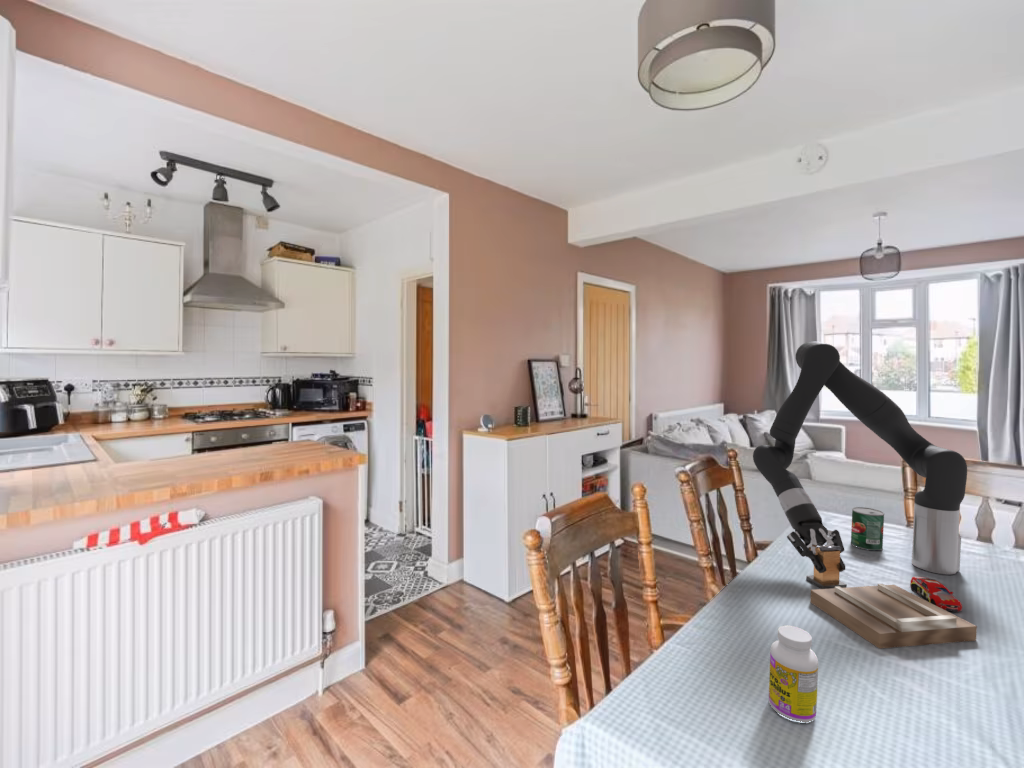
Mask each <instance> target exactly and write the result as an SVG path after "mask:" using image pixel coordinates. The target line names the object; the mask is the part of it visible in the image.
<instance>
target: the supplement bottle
mask: <svg viewBox="0 0 1024 768" xmlns="http://www.w3.org/2000/svg"><path fill="white" fill-rule="evenodd" d="M777 638H778V640H777V639H776V640H775V641H774V642H772V644H770V649H769V650H770V652H769V656H770V657H769V678H768V679H769V681H768V683H769V684H768V703H770V704H769V705H771V706H770V707H771V709H772V708H773V709H774V710H775V711H776V712H777V713H779V714H781V715H783V716H785V717H787V718H789V719H792V720H796V721H800V722H801V721H802V722H809V721H812V720H813V721H815V719H816V717H817V709H818V707H817V705H818V680H819V678H818V677H819V674H818V673H819V660H818V659H819V658H818V657H817V655H816V653H815V651H814V650H812V649H811V648H812V646H813V644H812V643H813V642H812V641H813V638H812V635H811V633H809V632H808V631H806V630H805V629H803V628H800V627H797V626H794V625H787V624H786V625H781V626H779V627H778V629H777ZM773 709H772V710H773ZM774 710H773V711H774ZM775 711H774V712H775ZM776 712H775V713H776ZM777 713H776V714H777ZM813 721H812V722H813Z"/></svg>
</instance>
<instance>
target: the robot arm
mask: <svg viewBox="0 0 1024 768" xmlns="http://www.w3.org/2000/svg"><path fill="white" fill-rule="evenodd" d="M840 360H841V355H840V353H839V350H838V349H837V348H836V347H835V346H833V345H832V344H830V343H827V342H823V341H818V340H817V341H815V340H814V341H808V342H805V343H803V344H801V345H799V347H797V350H796V352H795V363H796V365H797V366H798V368H800V369H801V370H800V373H799V376H798V379H797V382H796V383H795V386H794V387H793V389H792V391H791V392H790V394H789V395H788V397H787V398H786V400H785V401H784V402H783V403H782V404H781V406H780V407H779V410H778V411H777V413H776V416H775V418H774V419H773V422H772V424H771V427H770V429H769V435H770V436H771V437H772V438H773V439H775V441H774V446H772V445H767V444H761V445H758V446H757V447H755V449H754V450H753V453H752V460H753V463H754V465H755V467H756V468H757V470H758V471H759V473H760V474H761V475H762V476H763V477H764V478H765V480H766V481H767V482H768V483H769V484H770V485H771V487H772V489H773V491H774V493H775V495H776V496H777V498H778V501H779V504H780V507H781V509H782V511H783V513H784V514H785V517H786V518H787V520H788V522H789V524H790V526H791V528H792V529H793V530H794V531H791V532H790V533H789V534H788V535H786V538H787V540H788V541H789V542H790V543H791V545H792V547H793V548H795V550H796V551H797V552H798V554H799V555H800V556H801V557H802V558H803V557H805V558H809V559H810V560H811V563H812V565H813V567H814V566H815V568H816V570H817V571H818V572H819V573H824V572H825V571H826V567H825V565H824V563H823V562H822V560H821V558H820V556H817V555H818V552H817V550H816V547H829V546H830V547H832V546H840V547H841V550H839V551H840V554H842V553H843V552H845V547H844V544H843V539H842V537H841V534H840V531H839V530H838V529H834V530H829V529H828V528H827V527H826V526H825V525H824V524H823V518H822V517H821V514H820V513H819V510H818V509H817V508H816V505H815V504H814V502H813V501H812V499H811V497H810V496H809V494H808V493H807V491H805V489H804V487H803V485H802V483H801V482H800V479H799V478H798V476H797V475H796V474H795V473H794V472H792V471H790V470H787V469H788V468H789V467H790V465H792V463H793V458H794V454H795V447H796V441H797V440H796V439H797V437H798V436H799V433H800V431H801V429H802V427H803V425H804V422H805V420H806V418H807V416H808V414H809V412H810V410H811V407H813V404H814V403H815V401H816V400H817V398H818V396H819V394H820V393H821V392H822V391H821V390H822V389H823V388H824V387H825V388H827V389H828V390H829V391H830V392H831V393H832V394H833V395H834V397H836V398H837V400H839V401H838V402H840V403H841V404H842V405H843V406H844V407H845V408H846V409H847V410H848V411H849V412H850V413H851V414H852V415H853V417H855V418H856V419H857V420H858V421H860V422H861V423H862V424H863V425H865V427H867V428H868V429H869V430H870V431H871V432H872V433H874V434H875V435H876V436H877V437H879V439H881V440H883V442H885V443H886V444H888V445H889V446H890V447H891V448H892V449H893V450H894V451H895V452H896V453H897V454H898V455H899V456H900V457H901V459H902V460H904V462H905V463H906V464H907V465H908V466H909V467H910V468H911V469H912V470H913V472H915V473H916V474H917V475H918V476H921V477H923V478H925V482H924V483H925V484H924V488H923V490H920V491H917V492H915V494H914V505H913V525H912V526H913V528H912V529H913V531H912V549H911V564H912V565H913V566H915V567H916V568H918V569H920V570H923V571H925V572H930V573H933V574H939V575H948V576H949V575H955V574H957V572H960V571H961V567H960V566H961V550H962V549H961V548H962V547H961V546H962V537H961V536H960V535H959V534H960V533H959V531H960V510H961V504H962V502H963V501H964V498H965V494H966V487H967V479H968V465H967V462H966V459H965V457H964V456H963V455H962V454H961V453H959V452H958V451H955V450H951V449H949V448H945V447H940V446H937V445H935V444H933V443H932V442H930V441H929V440H927V439H926V438H924V437H923V436H922V435H920V433H918V432H917V431H916V430H915V429H914V428H913V426H912V425H911V424H910V423H909V419H908V418H907V416H906V414H905V412H904V411H903V410H902V409H901V407H900V406H898V405H899V404H897V403H896V402H895V401H894V400H893V399H891V398H890V397H889V396H888V395H886V394H885V393H884V392H883V391H882V390H880V389H878V387H876V386H874V385H873V384H871V383H870V382H869V381H867V380H865V379H864V378H862V377H860V376H858V375H857V374H856V373H854V372H852V371H851V370H850V369H849V368H848V367H846V366H845V365H844V363H842V361H840ZM845 570H846V564H845V562H844V561H843V559H842V557H841V556H840V570H839V572H840V573H842V572H844V571H845Z"/></svg>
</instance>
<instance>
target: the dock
mask: <svg viewBox="0 0 1024 768" xmlns="http://www.w3.org/2000/svg"><path fill="white" fill-rule="evenodd" d="M809 598H810V599H809V600H810V602H809V603H811V604H812V605H814V606H815V607H817V608H818V609H820V610H821V611H822V612H823V613H825V614H827V615H828V616H830V617H832V618H833V619H834V620H836V621H837V622H839V623H840V624H842V625H843V626H845V627H846V628H848V629H849V630H851V631H852V632H854V633H855V634H857V635H859V636H860V637H861V638H863V639H864V640H866V641H867V642H869V643H871V645H873V646H874V647H877V648H878V649H890V648H891V649H892V648H902V647H903V648H905V647H914V646H915V647H917V646H927V645H938V644H939V645H941V644H951V643H963V642H975V641H977V633H978V632H977V631H978V630H977V629H978V626H977V625H975V624H974V623H971V622H969V621H968V620H966V619H963V618H962V617H960V616H958V615H955V614H953V612H951V611H947V610H944V609H942V608H940V607H938V606H936V605H934V604H932V603H930V602H928V601H927V600H925V599H924V598H923V597H922V598H921V597H920V596H918V595H916V594H914V593H912V592H910V591H908V590H906V589H904V588H902V587H900V586H898V585H896V584H884V583H877V585H866V586H865V585H863V586H852V587H851V586H849V587H848V586H847V588H841V587H840V586H837V587H835V588H831V589H821V588H819V589H810V597H809Z"/></svg>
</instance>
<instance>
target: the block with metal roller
mask: <svg viewBox="0 0 1024 768" xmlns="http://www.w3.org/2000/svg"><path fill="white" fill-rule="evenodd" d="M816 550H817V552H818V555H817V556H820V558H821V560H822V562H823V563H824V565H825V567H826V571H825V572H824V573H819V572H818V571H817V570H816V568H815V566H814V565H813V575H806V577H805V578H806V581H808V582H810V583H811V584H812V585H815V586H816V587H818V588H819V589H831V588H835V587H837V586H840V587H841V588H847V587H848V586H847V584H846V583H845V582H843V581H842V580H840V573H841V572H839V570H840V557H841V553H840V551H839V550H841V547H840V546H832V547H830V546H829V547H820V546H817V547H816Z"/></svg>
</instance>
